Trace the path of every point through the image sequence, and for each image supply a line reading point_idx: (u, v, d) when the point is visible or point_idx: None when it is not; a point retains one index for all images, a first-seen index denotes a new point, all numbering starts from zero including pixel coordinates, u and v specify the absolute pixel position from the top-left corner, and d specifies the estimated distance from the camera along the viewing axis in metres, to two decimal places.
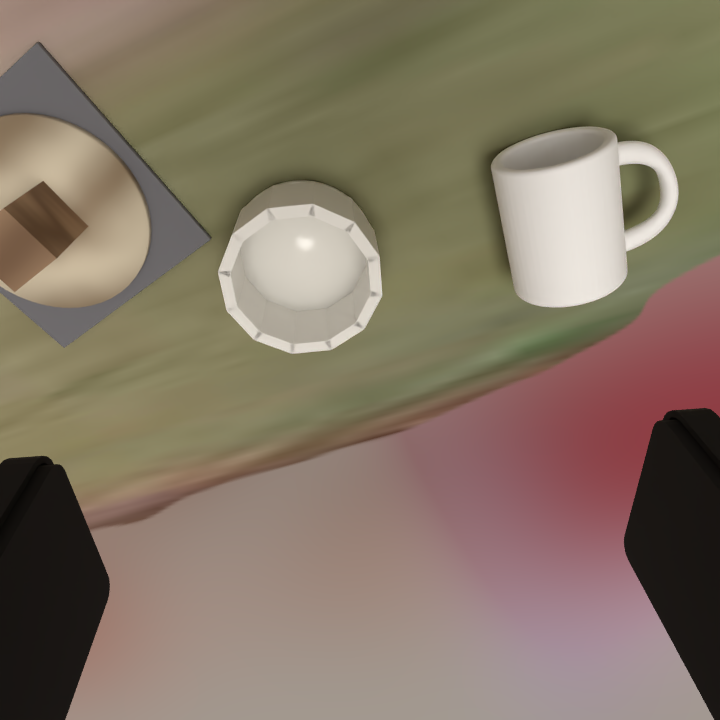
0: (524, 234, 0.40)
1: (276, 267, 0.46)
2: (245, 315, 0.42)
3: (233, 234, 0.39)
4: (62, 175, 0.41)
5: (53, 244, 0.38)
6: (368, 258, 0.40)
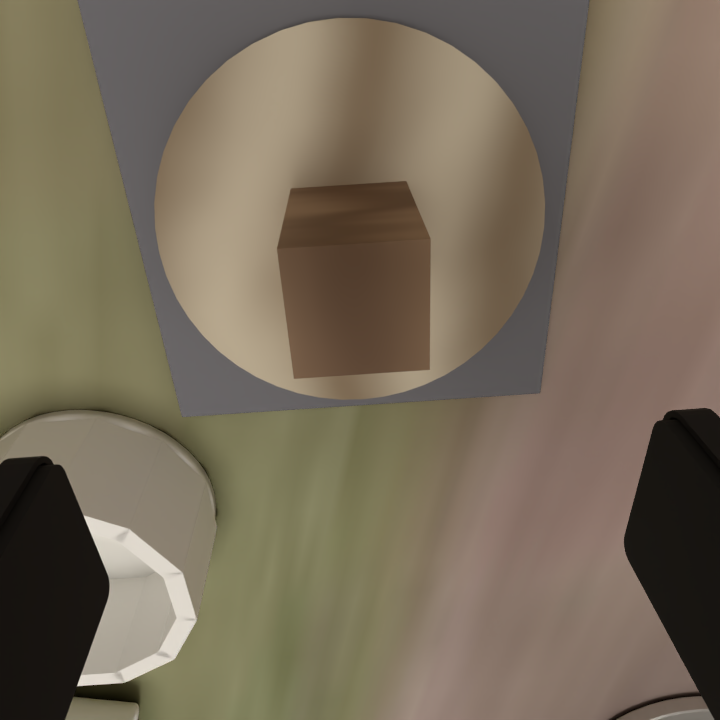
0: None
1: None
2: None
3: (181, 573, 0.24)
4: None
5: None
6: None
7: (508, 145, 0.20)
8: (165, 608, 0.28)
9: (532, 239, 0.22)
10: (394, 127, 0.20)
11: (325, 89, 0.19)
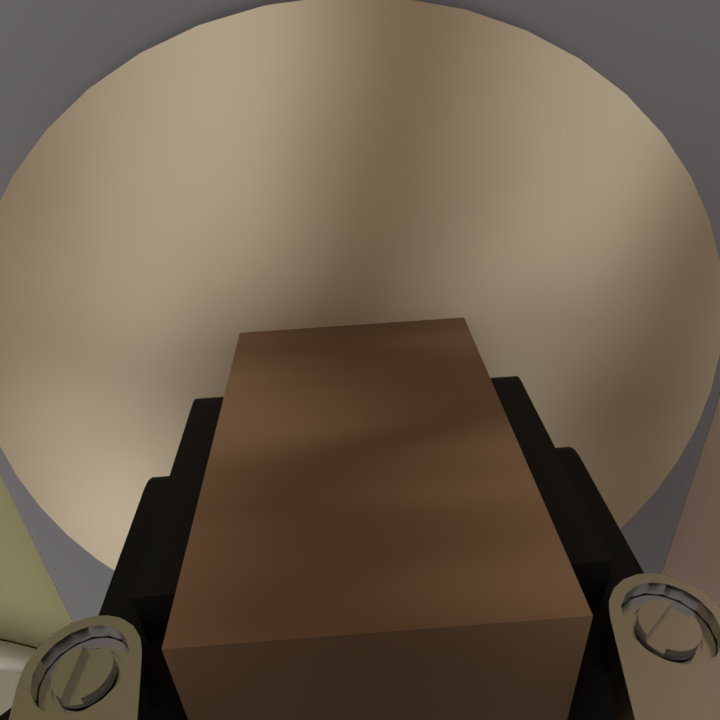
0: None
1: None
2: None
3: None
4: None
5: None
6: None
7: (668, 254, 0.10)
8: None
9: (686, 408, 0.12)
10: (446, 222, 0.10)
11: (304, 149, 0.09)
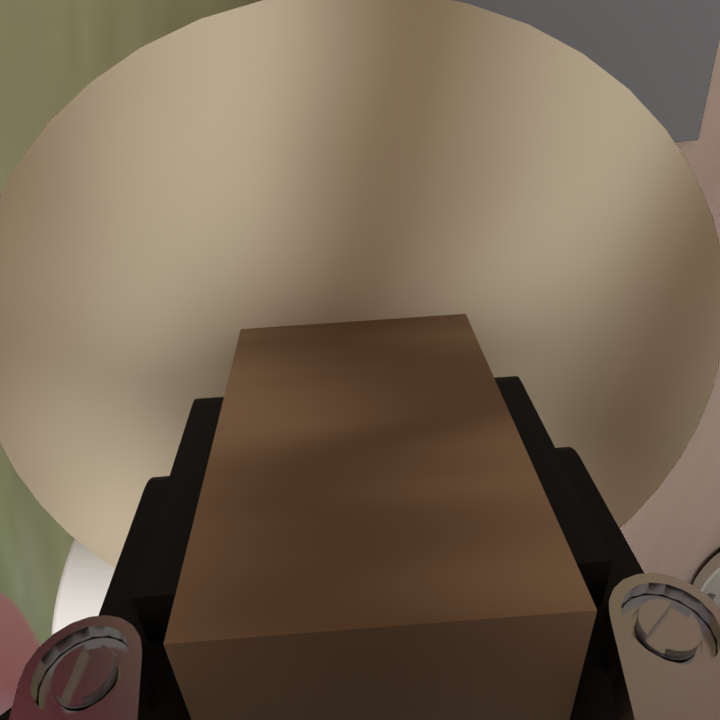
0: None
1: None
2: None
3: None
4: None
5: None
6: None
7: (670, 250, 0.10)
8: None
9: (688, 405, 0.12)
10: (448, 218, 0.10)
11: (305, 144, 0.09)
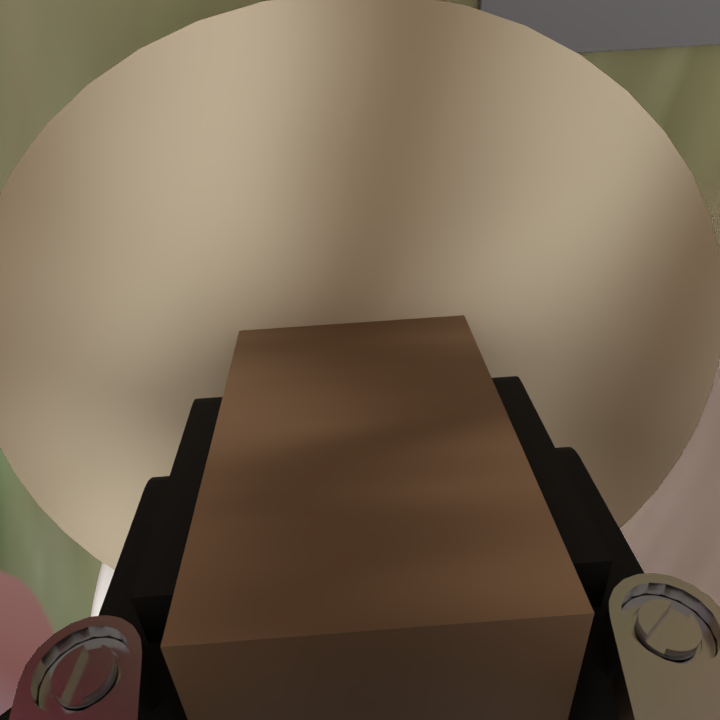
0: None
1: None
2: None
3: None
4: None
5: None
6: None
7: (669, 252, 0.10)
8: None
9: (687, 406, 0.12)
10: (446, 219, 0.10)
11: (304, 145, 0.09)
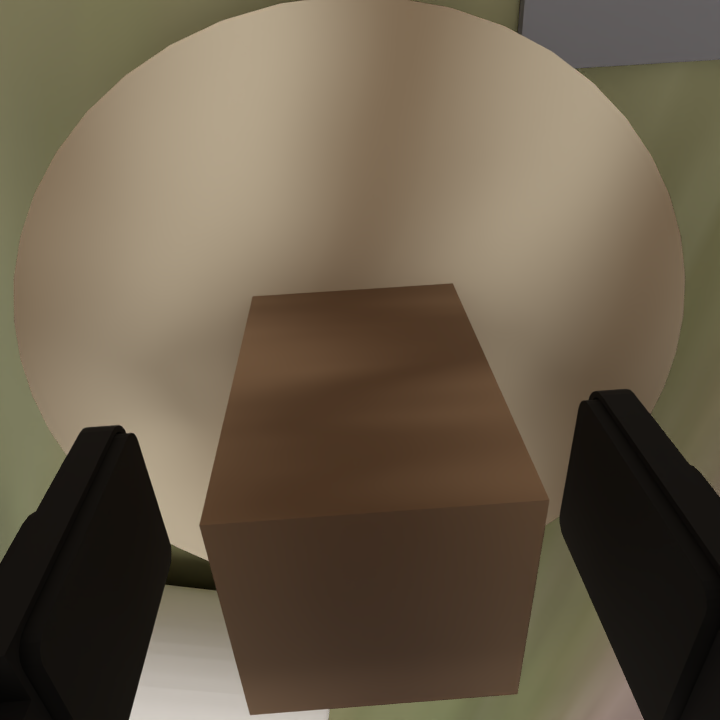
0: (211, 714, 0.21)
1: None
2: None
3: None
4: None
5: None
6: None
7: (633, 226, 0.12)
8: None
9: (654, 369, 0.13)
10: (436, 196, 0.11)
11: (311, 130, 0.10)
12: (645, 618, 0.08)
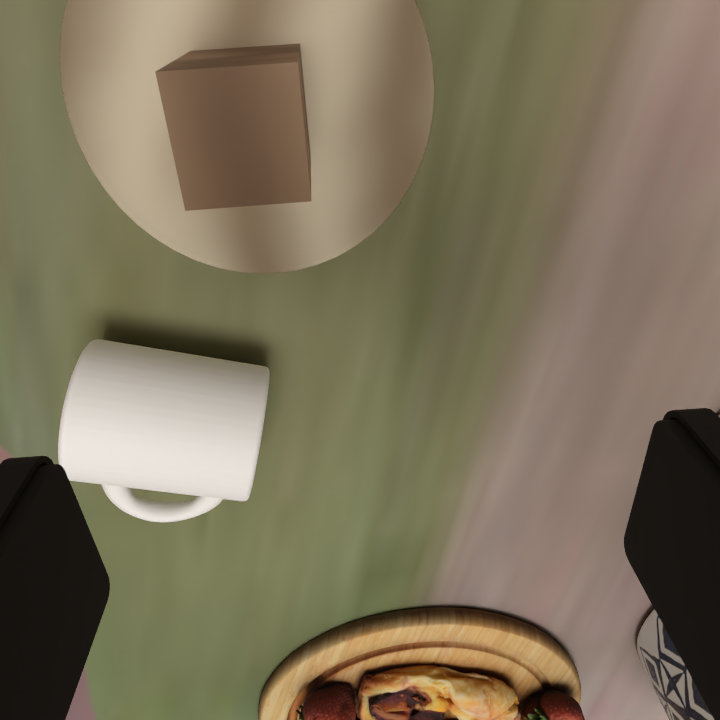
0: (183, 404, 0.31)
1: None
2: None
3: None
4: None
5: None
6: None
7: (393, 7, 0.22)
8: None
9: (424, 105, 0.23)
10: None
11: None
12: None
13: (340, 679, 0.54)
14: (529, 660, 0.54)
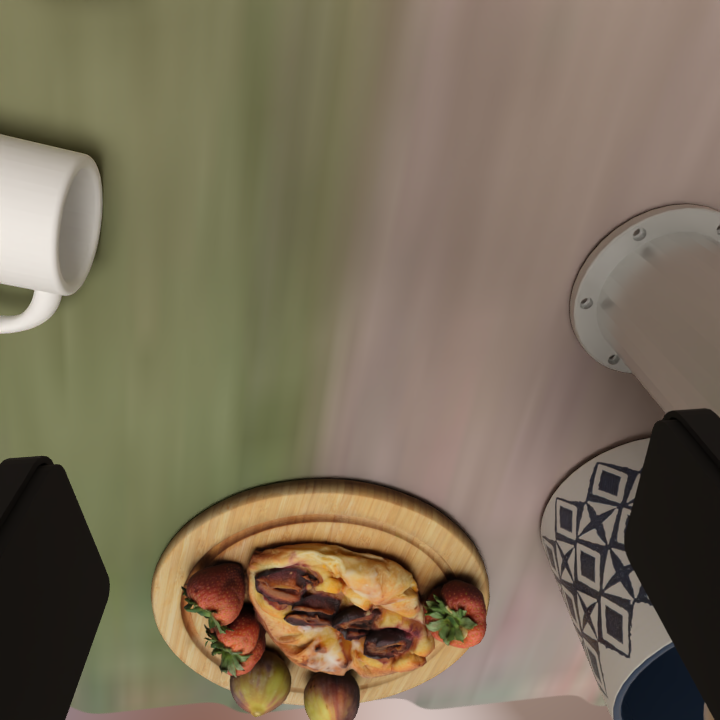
0: None
1: None
2: None
3: None
4: None
5: None
6: None
7: None
8: None
9: None
10: None
11: None
12: None
13: (229, 557, 0.52)
14: (427, 542, 0.52)
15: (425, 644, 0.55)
